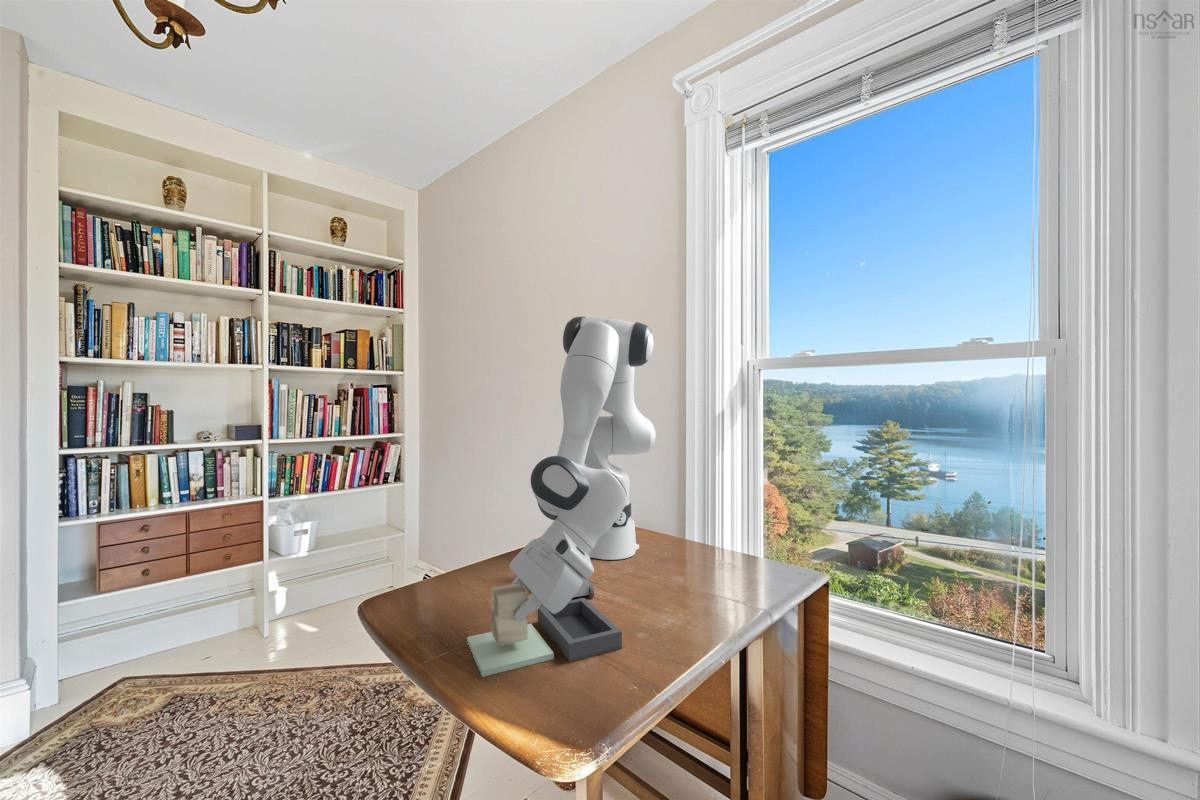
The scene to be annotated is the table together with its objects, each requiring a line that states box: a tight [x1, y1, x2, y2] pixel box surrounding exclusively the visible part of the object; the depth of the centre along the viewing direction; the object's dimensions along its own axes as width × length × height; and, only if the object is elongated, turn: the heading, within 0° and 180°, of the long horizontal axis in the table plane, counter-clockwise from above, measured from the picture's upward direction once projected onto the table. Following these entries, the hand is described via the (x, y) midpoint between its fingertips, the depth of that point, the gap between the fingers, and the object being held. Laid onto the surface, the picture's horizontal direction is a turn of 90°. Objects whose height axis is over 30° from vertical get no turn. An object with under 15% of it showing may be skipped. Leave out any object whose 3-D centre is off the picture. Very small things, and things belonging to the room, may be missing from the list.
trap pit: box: [537, 597, 623, 663], centre depth 90 cm, size 16×10×3 cm, turn 27°
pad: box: [466, 622, 555, 678], centre depth 84 cm, size 12×12×1 cm
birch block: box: [490, 583, 529, 646], centre depth 84 cm, size 5×5×8 cm
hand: (511, 610), depth 84 cm, fingers closed on birch block, 5 cm apart
